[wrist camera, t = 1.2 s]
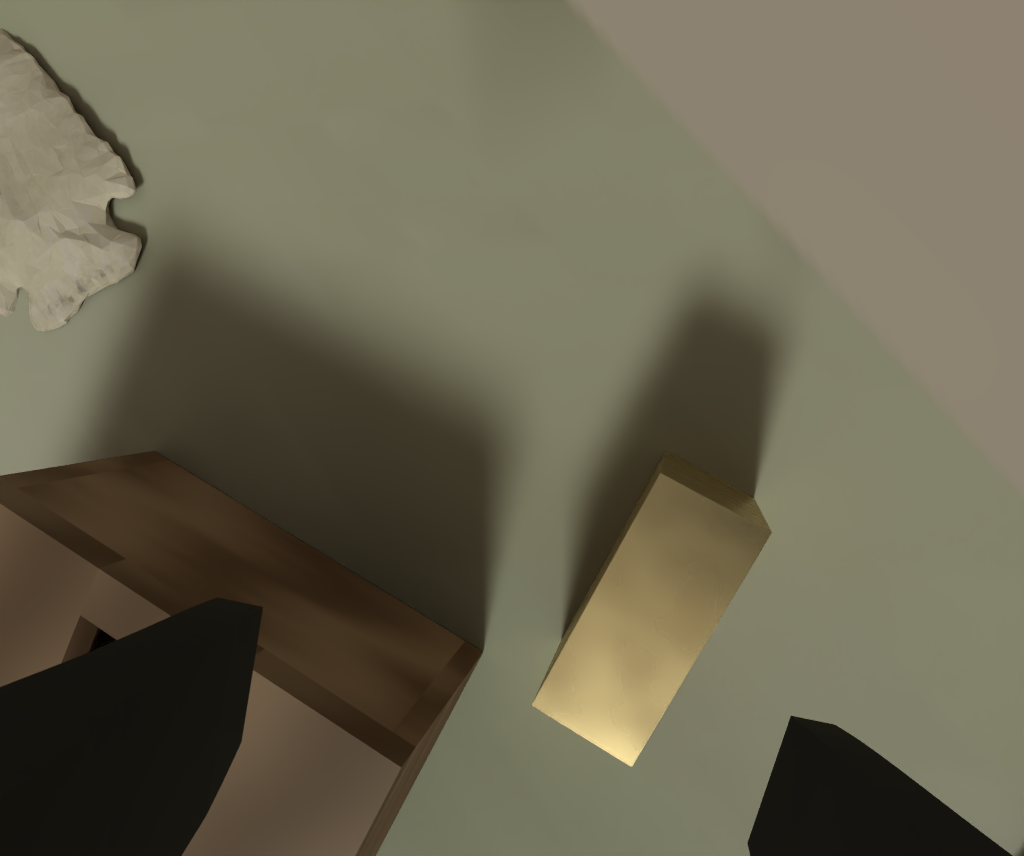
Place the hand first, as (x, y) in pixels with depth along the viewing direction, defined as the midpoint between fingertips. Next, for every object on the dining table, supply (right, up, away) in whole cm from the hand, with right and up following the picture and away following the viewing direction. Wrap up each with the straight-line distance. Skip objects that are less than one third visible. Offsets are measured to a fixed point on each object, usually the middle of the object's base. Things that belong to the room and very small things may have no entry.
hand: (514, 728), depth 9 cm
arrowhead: (-15, +12, +14) cm, 24 cm away
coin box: (-8, -4, +13) cm, 16 cm away
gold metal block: (+4, 0, +10) cm, 10 cm away
